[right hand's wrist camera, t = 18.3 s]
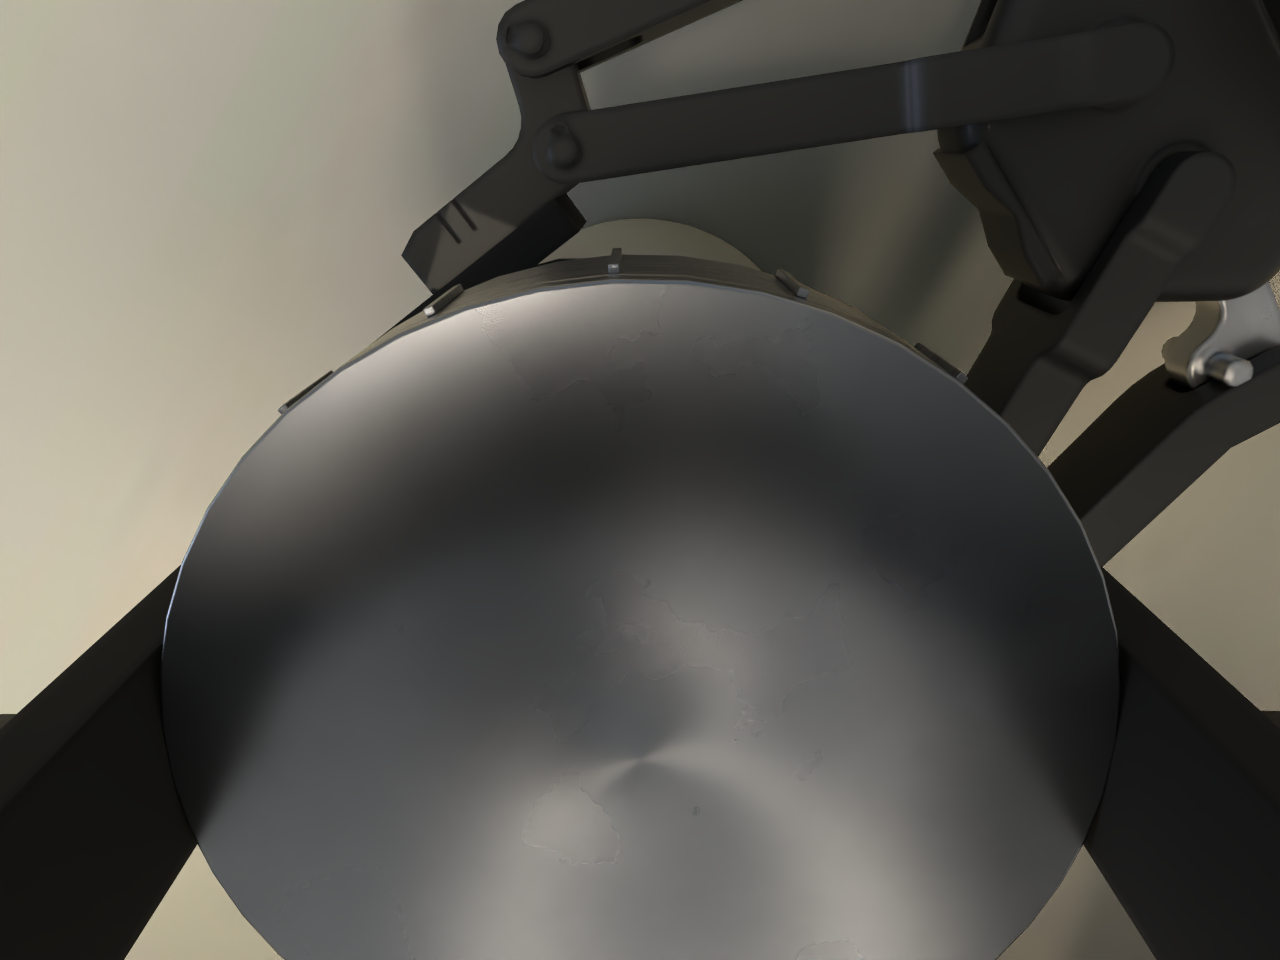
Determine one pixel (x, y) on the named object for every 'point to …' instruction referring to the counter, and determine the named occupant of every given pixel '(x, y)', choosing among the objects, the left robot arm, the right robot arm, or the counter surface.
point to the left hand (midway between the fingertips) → (486, 570)
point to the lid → (640, 639)
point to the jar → (647, 242)
